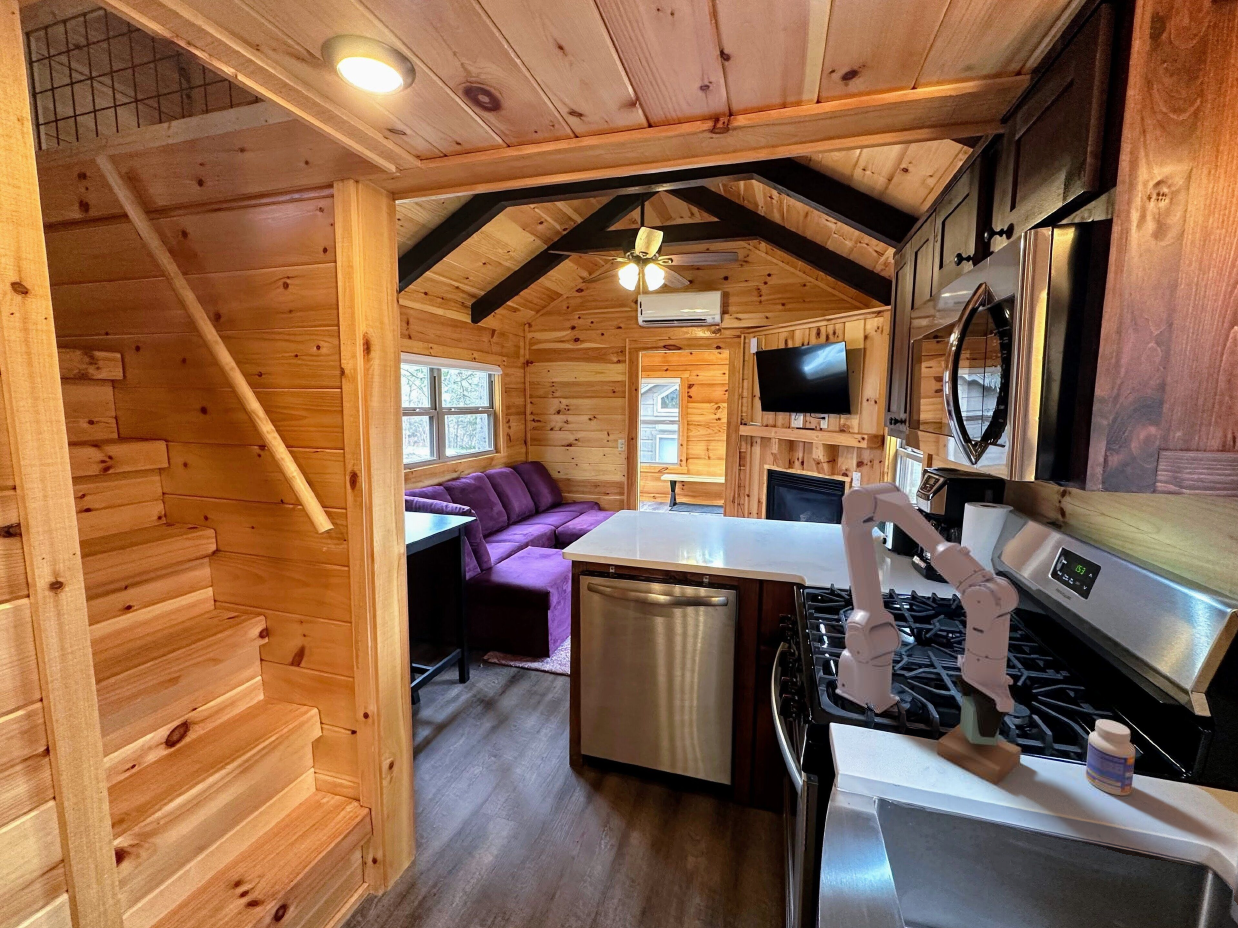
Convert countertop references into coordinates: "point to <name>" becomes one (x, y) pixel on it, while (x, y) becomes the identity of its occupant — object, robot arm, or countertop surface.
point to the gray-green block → (973, 723)
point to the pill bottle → (1110, 758)
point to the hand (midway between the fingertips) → (980, 727)
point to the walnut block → (979, 755)
